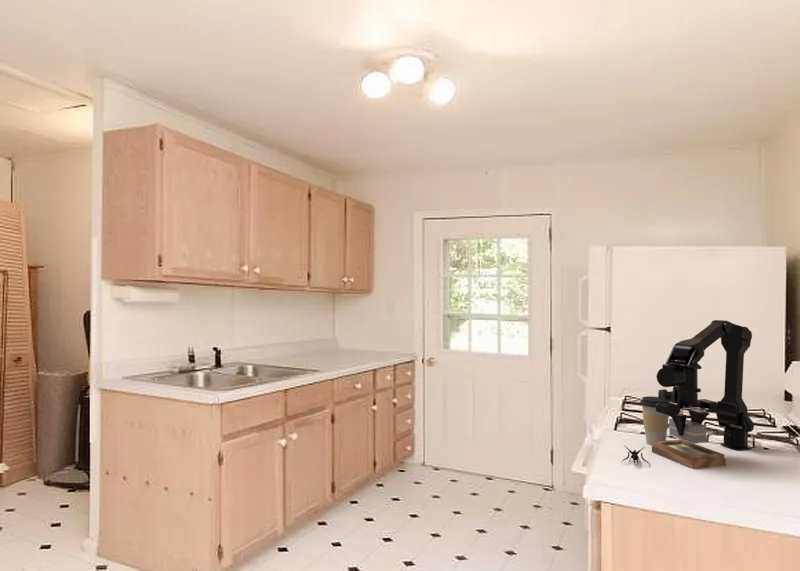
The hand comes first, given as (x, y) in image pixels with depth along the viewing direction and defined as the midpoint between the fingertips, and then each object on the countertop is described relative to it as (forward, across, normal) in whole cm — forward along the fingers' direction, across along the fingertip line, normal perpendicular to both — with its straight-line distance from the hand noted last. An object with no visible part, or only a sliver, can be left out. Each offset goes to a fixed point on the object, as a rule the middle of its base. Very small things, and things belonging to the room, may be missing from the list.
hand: (687, 435), depth 166 cm
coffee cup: (+7, -2, -16) cm, 18 cm away
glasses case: (+1, 0, 0) cm, 1 cm away
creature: (+8, +19, 0) cm, 21 cm away
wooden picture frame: (+7, 0, 0) cm, 7 cm away
